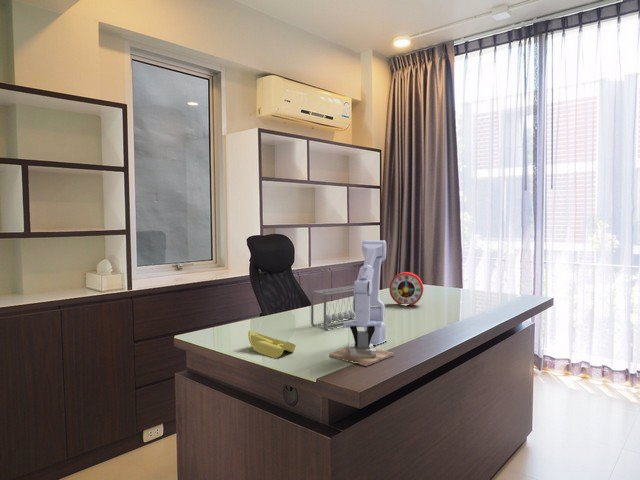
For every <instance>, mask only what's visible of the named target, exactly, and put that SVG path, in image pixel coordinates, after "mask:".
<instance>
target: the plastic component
mask: <svg viewBox="0 0 640 480" xmlns="http://www.w3.org/2000/svg"><path fill="white" fill-rule="evenodd" d="M247 336H248V340H249V341H248V342H249V344H250V346H251V347H252V348H253V350H254V351H255V352H257V353H259V354H261V355H264V356H267V357H270V358H273V359H278V358H280V357H281V356H282V355H283V353H284V351H286V352H289V353H294V352H295V349H296V347H297V345H296V344H294V343H292V342H289V341H283V340H279V339H277V338H273V337H270V336H266V335H264V334H261V333H258V332H256V331H253V330H250V329H249V330H248V335H247Z"/></svg>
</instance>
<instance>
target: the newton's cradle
mask: <svg viewBox="0 0 640 480" xmlns="http://www.w3.org/2000/svg"><path fill="white" fill-rule="evenodd" d="M353 286H354V285H349V286H342V287H333V288H325V289H319V290H317V289H316V290H313V291H312V292H311V296H310V302H311V303H310V312H311V313H310V321H311V322H310V323H311V326H312V327H314V326H316V327H317V325H321V324H324V325H323V326H322V325H321V326H318V328H320V327H321V329H323V330H324V331H329V330H328V329H332V330H334V329H333V328H337V327H340V326H343V324H340V325H336V326H331V327H327V324H326V323H331V322H334V321H339V320H343V319H349V318H354V317H355V299H354V291H353ZM350 293H352V295H353V296H352V297H353V298H352V300H353V301H352V305H351V304H349V303H347V305H346V303H345V300H342V303H341V304H343V302H344V305H346V307H348V305H349V306H350V310H349V311H348V309H344V311H343V312H342V309H343V307H340V306H339V310H340V311H339V312H338V313H337V312H336V311H337V310H334V313H332V314H331V315H330V311H331V310H329V308H331V307H332V306H333V309H335V307H334V306H336V307H337V304H338V303H336V305H334V304H330V305H329V308H328V306H327V301H328V300H327V299H328V298H327V297H329V296H331V299H330V301H333V300H334V299H333V297H334V295H341V294H342V297H345V295H344V294H350ZM315 294H322V295H324V296H323V322H319V323H316V324H315V323H314V302H315V301H314V297H315V296H314V295H315ZM336 300H337V302H340V300H339V296H337V298H336ZM347 300H348V301H351V298H350V296H348V298H347ZM331 305H332V306H331ZM327 311H328V313H327ZM354 319H355V318H354ZM331 324H332V323H331ZM337 329H338V328H337Z"/></svg>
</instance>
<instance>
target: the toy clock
mask: <svg viewBox="0 0 640 480" xmlns="http://www.w3.org/2000/svg"><path fill="white" fill-rule="evenodd" d="M389 284H390V285H389V288H388V289H389V294H390V297H391V299H392V300H393V301H394V302H395V303H396V304H398V305H400V304H409V305H411V306H414V305H415V304H417V303H418V302H419V301H420V299H421V298H422V296H423V295H424V294H423V293H424V284H423V281H422V279H421V278H420V277H419V275H417V274H415V273H413V272H410V271H404V272H400V273H398V274H396V275H395V276H394V277H393V279H391V281H390V283H389Z"/></svg>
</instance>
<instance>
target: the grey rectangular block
mask: <svg viewBox="0 0 640 480" xmlns="http://www.w3.org/2000/svg"><path fill="white" fill-rule="evenodd" d="M356 349H368V332H367V331H364V330H358V332H357V346H356Z"/></svg>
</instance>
